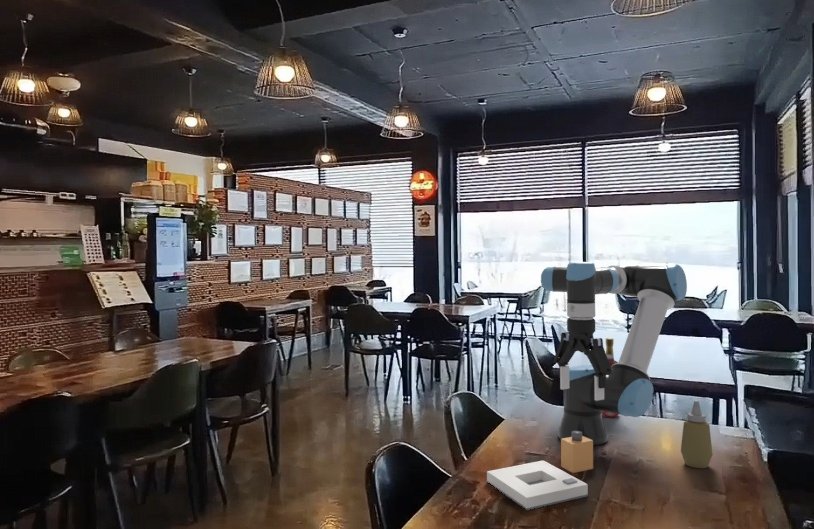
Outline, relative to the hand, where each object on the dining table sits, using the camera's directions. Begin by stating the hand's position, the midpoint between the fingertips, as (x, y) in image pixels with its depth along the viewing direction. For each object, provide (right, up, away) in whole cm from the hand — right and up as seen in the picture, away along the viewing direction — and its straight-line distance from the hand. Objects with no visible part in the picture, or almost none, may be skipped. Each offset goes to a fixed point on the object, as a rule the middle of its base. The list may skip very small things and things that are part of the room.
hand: (581, 394), depth 164 cm
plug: (-1, -21, +1) cm, 21 cm away
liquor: (+25, -19, +49) cm, 59 cm away
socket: (-16, -22, -13) cm, 29 cm away
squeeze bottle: (+33, -20, +2) cm, 39 cm away
